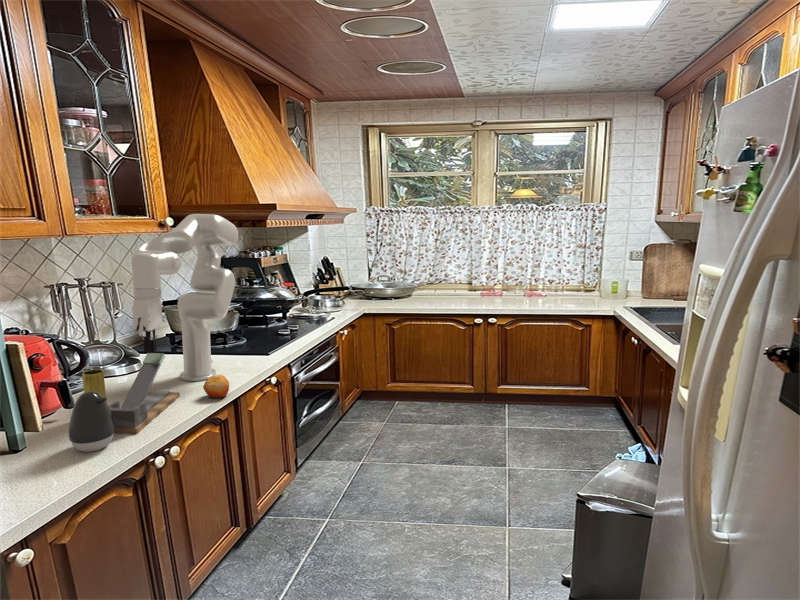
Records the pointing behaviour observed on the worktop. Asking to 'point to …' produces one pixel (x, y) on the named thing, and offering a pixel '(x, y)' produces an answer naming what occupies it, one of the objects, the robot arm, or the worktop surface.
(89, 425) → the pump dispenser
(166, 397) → the stand
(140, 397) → the arm
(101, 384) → the vase
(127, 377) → the worktop surface
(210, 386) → the fruit
